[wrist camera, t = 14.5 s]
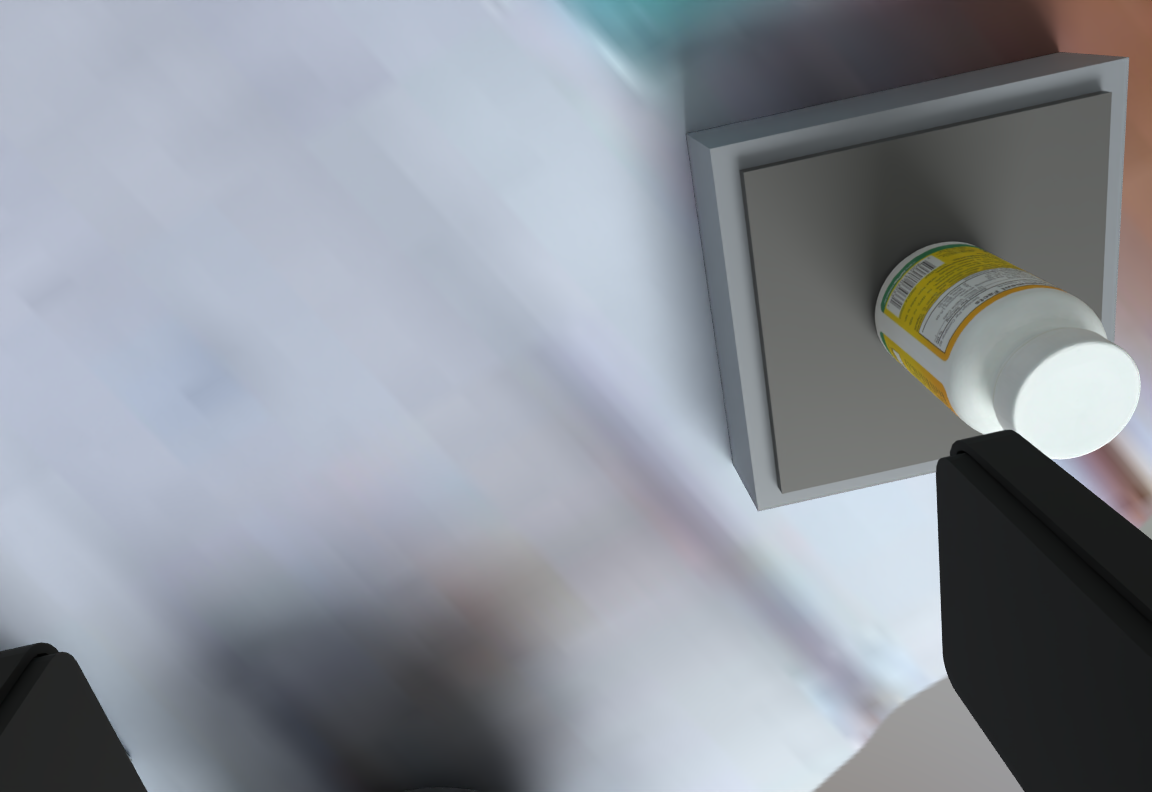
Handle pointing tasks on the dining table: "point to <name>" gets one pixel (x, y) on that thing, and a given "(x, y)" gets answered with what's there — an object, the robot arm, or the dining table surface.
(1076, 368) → the supplement bottle
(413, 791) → the coal bowl
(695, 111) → the dining table surface
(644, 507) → the dining table surface
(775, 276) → the plinth
